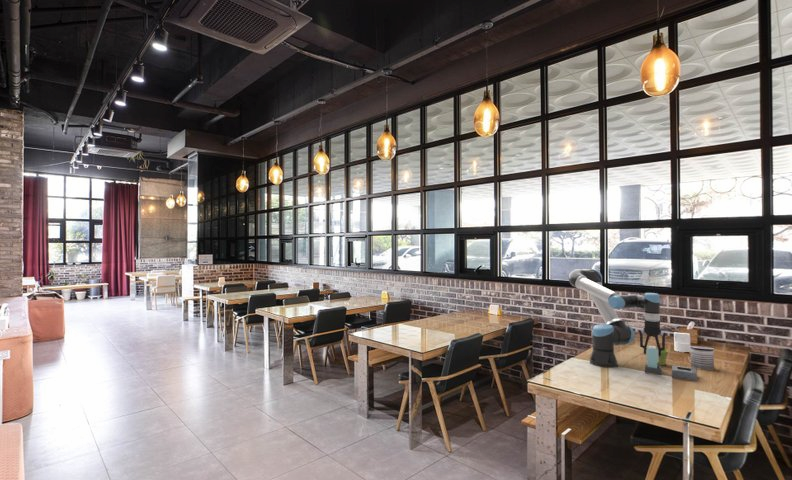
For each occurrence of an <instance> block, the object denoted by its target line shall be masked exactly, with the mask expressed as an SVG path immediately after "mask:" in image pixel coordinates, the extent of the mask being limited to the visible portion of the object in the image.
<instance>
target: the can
mask: <svg viewBox="0 0 792 480" xmlns="http://www.w3.org/2000/svg"><path fill="white" fill-rule="evenodd" d="M714 349H715V348H713V347H708V346H701V345H700V346H697V345H690V352H689V353H690V367H691V368H697V369H698V368H699V369H698V370H704V369H705V371H712V370H714V369H715V355H714V352H715V351H714Z"/></svg>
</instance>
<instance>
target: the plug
mask: <svg viewBox="0 0 792 480" xmlns="http://www.w3.org/2000/svg"><path fill="white" fill-rule="evenodd" d="M646 348H647V359H648V361H647V364H648V367H650V368H657V366H658V365H657V348H658V347H656V346H654V345H648V346H647V347H646Z"/></svg>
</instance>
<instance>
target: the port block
mask: <svg viewBox="0 0 792 480" xmlns="http://www.w3.org/2000/svg"><path fill="white" fill-rule="evenodd" d="M697 369H698V368H694V367H691V366H689V367H688V366H682V365H672V368H671V376H672V377H671V378H674V379H680V380H687V381H693V382H698V373H697Z"/></svg>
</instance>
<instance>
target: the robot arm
mask: <svg viewBox="0 0 792 480" xmlns="http://www.w3.org/2000/svg"><path fill="white" fill-rule="evenodd" d="M567 280H568V282H569V283H570V285H571V286H572V287H574V288H576V289H578V290H583V291H585V292H587V293H589V295H590V297H591V300H592V301H593V302H594V305H595V306H596V308H597V311H598V312H599V314H600V316H601V318H602V319H603V321H604V323H603V324H601V323H599V324H595V325H594V326H592V331H591V332H592V333H591V335H592V337H591V338H592V351H591V355H590V357H589V364H592V365H593V366H597V367H603V368H615V367H617V366H618V359H617V357H616V353H615V347H616V346H625V345H628V344H632V342H633V341H634V339H635V331H634V328H633V327H632V326H630V325H628V324H627V323H625V321H624V320H623V319H621V318H620V317H619V316H618V314H617V312H616V310H620V309H632V308H633V309H635V308H638V309H639V308H640V309H644V310H643V311H644V328H643V329H639V330H638V334H639V347H640V348H642V349H643V355H645V360H646V361H647V362H648V359H647V348H648V343H649V339H650V337H653V338H654V339H655V342H656V346H657V347H656V348H658V350H657V362H659V356H661V350H665V349H666V335H667V332H666V331H663V330H662V329H661V321H660V320H661V310H660V308H661V298H660V294H659V293H657V292H656V293H655V292H645V293H644V295H642V294H641V295H640V294H635V293H628V294H625V295H623V294H620V293H618V292H615V291H613V290H612V289H609V288H607V287H605V286H603V275H602V272H600V271H599V270H598V269H595V268H580V269H579V268H576V269H574V270H572V271H571V272H569V274H568V279H567ZM644 333H645V334H646V338H645V341H644ZM659 335H661V336H662V337H661V340H662V341H661V344H660V340H659Z"/></svg>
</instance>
